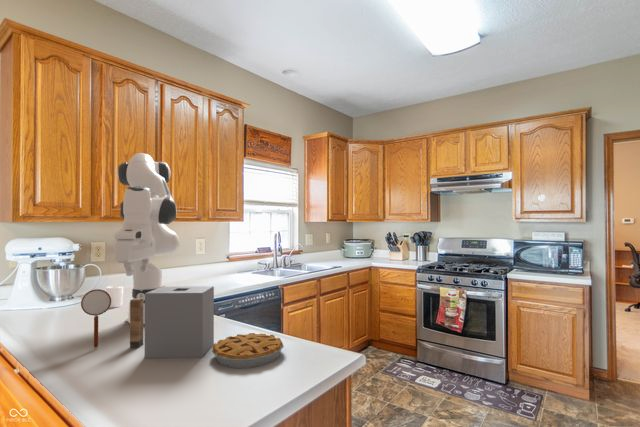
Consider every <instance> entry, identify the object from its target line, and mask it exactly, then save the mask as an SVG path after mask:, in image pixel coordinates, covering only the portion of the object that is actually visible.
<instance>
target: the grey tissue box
mask: <svg viewBox="0 0 640 427" xmlns="http://www.w3.org/2000/svg"><path fill="white" fill-rule="evenodd" d="M214 296H215V286H214V285H206V286H205V285H203V286H201V285H198V286H196V285H195V286H193V285H192V286H190V285H189V286H188V285H187V286H179V285H178V286H165V287H160V288H157V289H155V290H152V291H150V292H147V293H145V324H144V359H166V358H167V359H170V358H171V359H173V358H174V359H178V358H179V359H181V358H182V359H183V358H184V359H186V358H189V359H190V358H193V359H194V358H198V359H199V358H203V357H205V355H206V354H207V353H208V352H209V351H210V350H211V348H213V345H214V344H215V340H214V338H215V329H214V328H215V327H214V326H215V321H214V320H215V319H214V318H215V316H214V314H215V309H214V308H215V307H214V306H215V297H214Z"/></svg>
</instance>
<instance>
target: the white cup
mask: <svg viewBox="0 0 640 427" xmlns="http://www.w3.org/2000/svg"><path fill="white" fill-rule="evenodd" d="M124 288H125V287H124V285H108V286H107V287H105V291H106V292H107V293H108V294H109V295H110V297H111V305H110V307H109V309H115V308H120V307H123V300H124Z"/></svg>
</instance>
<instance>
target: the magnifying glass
mask: <svg viewBox="0 0 640 427" xmlns="http://www.w3.org/2000/svg"><path fill="white" fill-rule="evenodd" d="M110 305H111V297H110V295H109V294H108V293H107V292H106V290H104V289H98V288H97V289H92V290H89V291H87V292H86V293H85V294H84V295H83V297H82V298H81V301H80V306H81V310H82V311H83V312H84V313H85V314H87V315H89V316H93V348H94V350H96V351H97V350H98V348H99V316H100V315H103V314H105V313H106V312H107V311H108V310H109V309H110V308H109V307H110Z"/></svg>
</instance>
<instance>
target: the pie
mask: <svg viewBox="0 0 640 427" xmlns="http://www.w3.org/2000/svg"><path fill="white" fill-rule="evenodd" d="M284 347H285V346H284V343H283V340H282V339H281V338H280V337H275V335H274V334H270V335H269V334H268V335H267V334H266V333H254V332H251V333H248V334H247V333H246V334H237V335H236V336H232V335H229V336H226V338H224V339H220V340H218V341H217V343H216V342H214V345H213V346H212V347H211V348H212V349H211V353H212V354H213V355H214V357H215V358H216V360H217V361H218V362H219V364H221V365H223V366H226V367H228V366H229V367H230V368H234V367H235V368H236V369H245V368H246V369H247V367H249V368H255V367H258V366H259V367H260V366H263V365H266V364H269V363H271V362H273V361H275V360H276V359H278V357H279V356H280V354H281V351H282V349H283V348H284Z"/></svg>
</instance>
